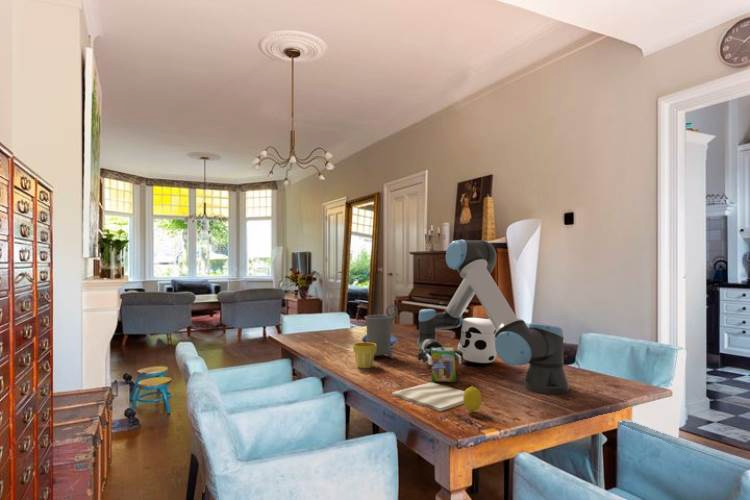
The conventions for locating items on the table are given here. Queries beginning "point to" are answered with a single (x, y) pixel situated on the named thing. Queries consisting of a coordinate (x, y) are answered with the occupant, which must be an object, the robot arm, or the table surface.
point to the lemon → (472, 398)
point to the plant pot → (364, 354)
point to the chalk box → (443, 364)
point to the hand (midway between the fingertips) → (445, 360)
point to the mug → (380, 331)
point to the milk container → (478, 341)
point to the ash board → (432, 396)
